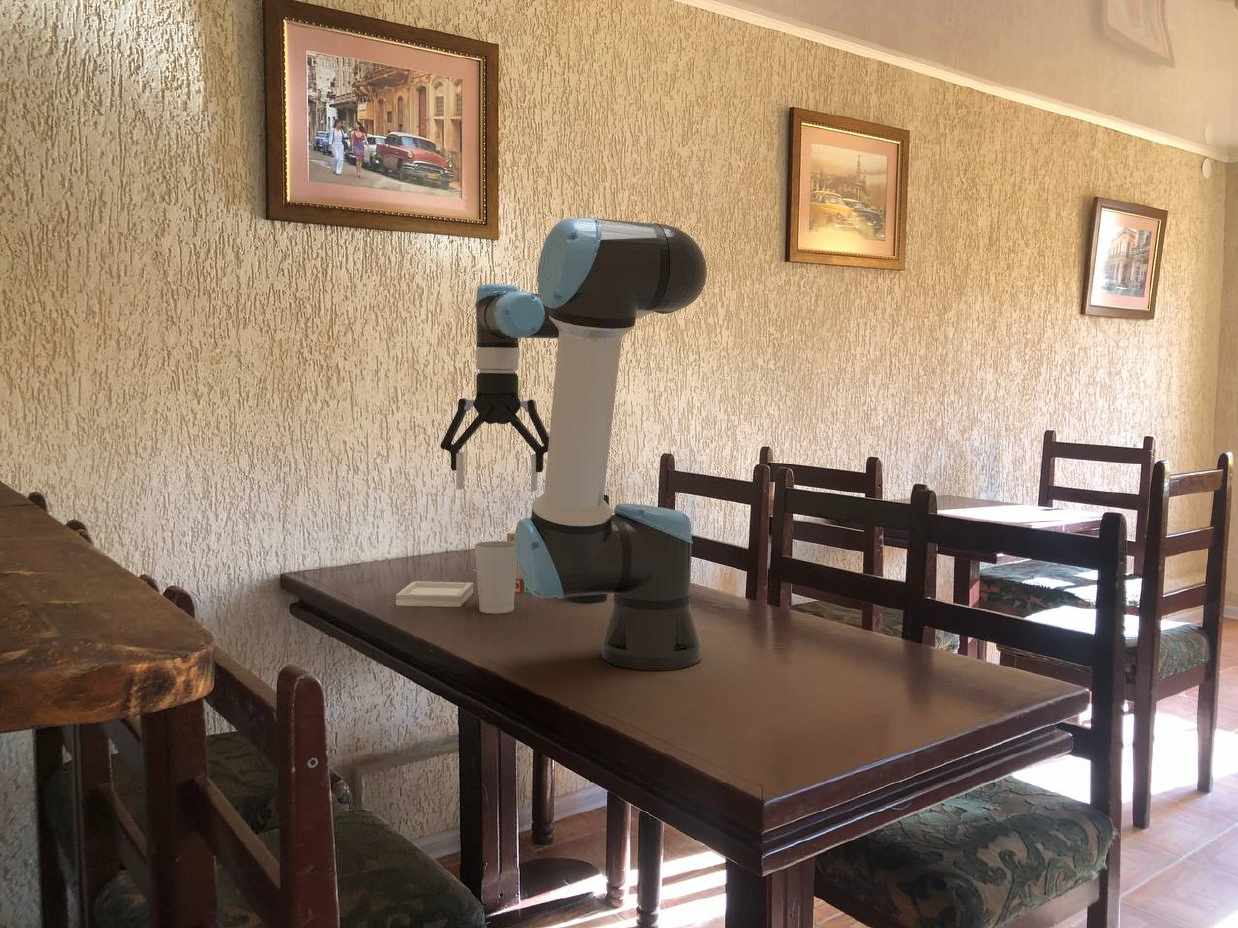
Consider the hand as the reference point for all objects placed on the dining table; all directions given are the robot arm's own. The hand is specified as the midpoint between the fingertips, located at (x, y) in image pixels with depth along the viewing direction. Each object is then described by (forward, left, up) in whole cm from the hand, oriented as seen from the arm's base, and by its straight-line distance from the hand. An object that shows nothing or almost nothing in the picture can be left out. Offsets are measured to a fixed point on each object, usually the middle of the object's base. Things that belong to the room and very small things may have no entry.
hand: (497, 489), depth 179 cm
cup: (0, 0, -22) cm, 22 cm away
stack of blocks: (+24, -2, -22) cm, 33 cm away
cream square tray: (+7, +13, -22) cm, 26 cm away
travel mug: (+10, -16, -22) cm, 29 cm away
